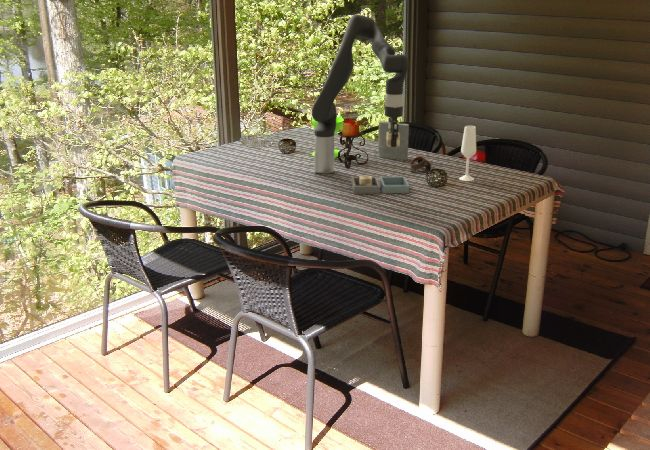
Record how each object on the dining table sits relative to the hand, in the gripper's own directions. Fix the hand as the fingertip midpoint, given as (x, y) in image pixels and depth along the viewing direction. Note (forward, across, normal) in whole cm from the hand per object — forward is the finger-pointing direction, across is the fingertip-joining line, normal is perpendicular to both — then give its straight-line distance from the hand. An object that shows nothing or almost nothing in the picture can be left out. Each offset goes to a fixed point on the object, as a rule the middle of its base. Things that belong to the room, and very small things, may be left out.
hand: (392, 144), depth 305 cm
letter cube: (0, 0, 0) cm, 0 cm away
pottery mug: (+22, -34, +19) cm, 44 cm away
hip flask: (+22, -58, +8) cm, 62 cm away
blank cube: (+21, -6, -10) cm, 24 cm away
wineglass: (+22, -66, -24) cm, 74 cm away
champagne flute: (+22, -20, +37) cm, 47 cm away
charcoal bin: (+21, -6, -10) cm, 25 cm away
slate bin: (+21, -6, +2) cm, 22 cm away
